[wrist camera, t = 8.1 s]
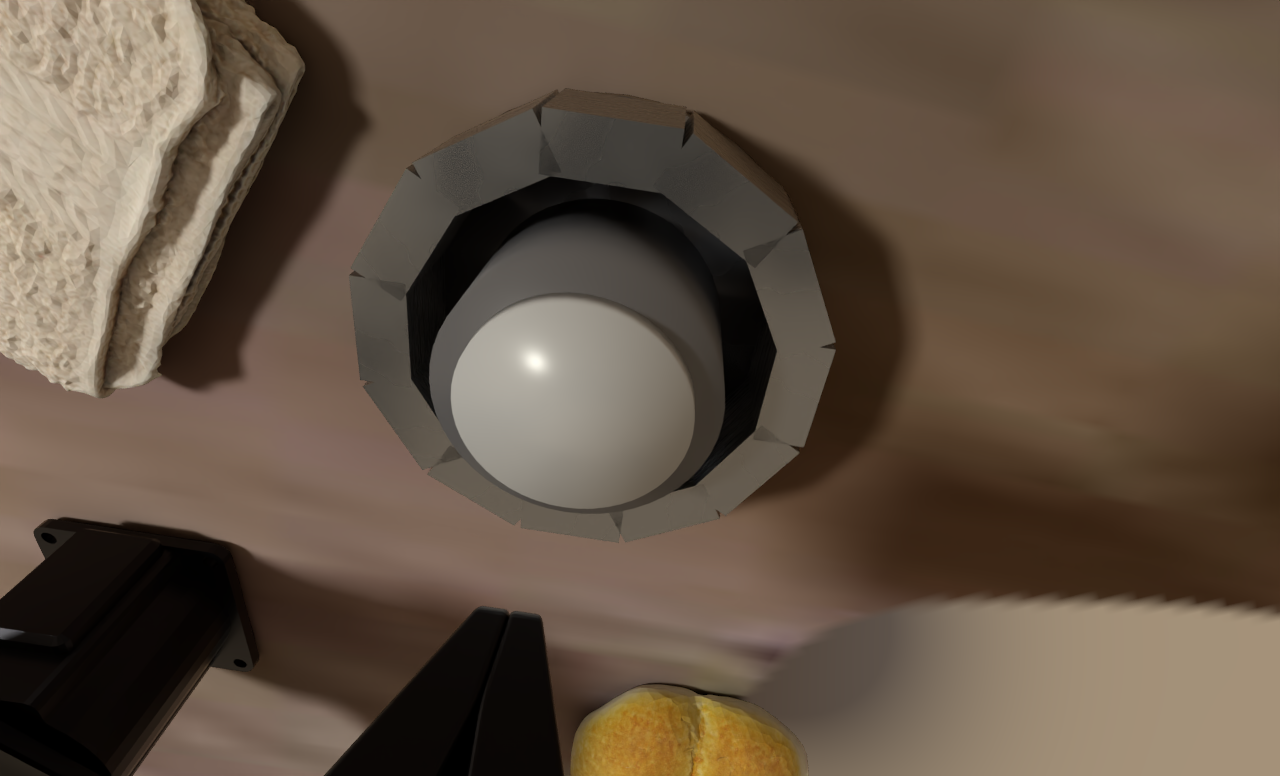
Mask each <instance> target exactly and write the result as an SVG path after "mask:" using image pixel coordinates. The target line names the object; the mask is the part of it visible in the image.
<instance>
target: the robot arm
mask: <svg viewBox="0 0 1280 776" xmlns="http://www.w3.org/2000/svg"><path fill="white" fill-rule="evenodd" d="M34 536H35V539H36V541H37V543H38V545H39V547H40V549H41V551H42V553H43V555H44V557H45V560H44V561H43V562H42V563H41V564H40V565H39V566H37V567H36V568H35V569H34V570H33V571H32V572H31V573H30V574H28V575H27V576H26V577H25V578H24V579H23V580H22V581H20V582H19V583H18V584H17V585H16V586H15V587H14V588H13V589H11V590H10V591H9V592H8V593H7V594H6V595H5V596H3V597H2V598H1V599H0V776H133V775H134V773H135V772H136V770H137V769H138V768H139V766H140V765H141V763H142V762H143V761H144V759H145V758H146V756H147V755H148V753H149V752H150V751H151V749H152V748H153V746H154V745H155V744H156V742H157V741H158V739H159V738H160V737H161V735H162V734H163V732H164V731H165V730H166V728H167V727H168V725H169V724H170V723H171V721H172V720H173V718H174V717H175V716H176V714H177V713H178V711H179V710H180V709H181V707H182V706H183V704H184V703H185V702H186V700H187V699H188V697H189V696H190V695H191V693H192V692H193V690H194V689H195V688H196V686H197V685H198V683H199V682H200V681H201V679H202V678H203V676H204V675H205V674H206V672H207V671H208V669H209V668H210V667H216V668H223V669H230V670H236V671H244V672H248V671H251V670H252V669H253V668H254V666H255V665H256V663H257V661H258V660H259V654H258V651H257V647H256V643H255V640H254V636H253V632H252V629H251V625H250V621H249V617H248V614H247V610H246V606H245V603H244V599H243V595H242V592H241V588H240V584H239V581H238V577H237V573H236V570H235V566H234V562H233V559H232V555H231V554H230V552H229V551H228V550H227V549H226V548H225V547H223V546H221V545H218V544H215V543H208V542H202V541H195V540H189V539H182V538H175V537H169V536H162V535H155V534H149V533H142V532H135V531H129V530H122V529H115V528H109V527H102V526H95V525H89V524H82V523H76V522H69V521H62V520H56V519H48V520H46V521H44V522H43V523H42V524H40V525H39V526H38V527H37V528H36V529H35V530H34ZM324 776H564V771H563V764H562V756H561V749H560V742H559V735H558V728H557V721H556V714H555V707H554V700H553V692H552V685H551V678H550V671H549V664H548V657H547V650H546V643H545V635H544V628H543V622H542V618H541V616H540V615H538V614H532V613H526V612H519V611H514V612H512V613H511V614H509V612H508V611H507V610H505V609H499V608H493V607H486V606H481V607H478V608H477V609H475V610H474V611H473V612H472V613H471V614H470V616H469V617H468V618H467V619H466V620H465V621H464V622H463V623H462V624H461V625H460V627H459V628H458V629H457V630H456V631H455V632H454V633H453V634H452V635H451V636H450V638H449V639H448V640H447V641H446V642H445V643H444V644H443V645H442V646H441V647H440V649H439V650H438V651H437V652H436V653H435V654H434V655H433V656H432V657H431V658H430V660H429V661H428V662H427V663H426V664H425V665H424V666H423V667H422V668H421V669H420V671H419V672H418V673H417V674H416V675H415V676H414V677H413V678H412V679H411V680H410V682H409V683H408V684H407V685H406V686H405V687H404V688H403V689H402V690H401V691H400V693H399V694H398V695H397V696H396V697H395V698H394V699H393V700H392V701H391V702H390V704H389V705H388V706H387V707H386V708H385V709H384V710H383V711H382V712H381V713H380V715H379V716H378V717H377V718H376V719H375V720H374V721H373V722H372V723H371V724H370V726H369V727H368V728H367V729H366V730H365V731H364V732H363V733H362V734H361V735H360V737H359V738H358V739H357V740H356V741H355V742H354V743H353V744H352V745H351V746H350V748H349V749H348V750H347V751H346V752H345V753H344V754H343V755H342V756H341V757H340V759H339V760H338V761H337V762H336V763H335V764H334V765H333V766H332V767H331V768H330V770H329V771H328V772H327V773H326V774H325V775H324Z"/></svg>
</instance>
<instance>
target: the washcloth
mask: <svg viewBox="0 0 1280 776" xmlns="http://www.w3.org/2000/svg"><path fill="white" fill-rule="evenodd" d="M304 72H305V63H304V62H303V60H302V58H301V57H300V55H299V53H298V51H297V50H296V48H295V47H294V46H292V45H290V44H288V43H287V42H286V41H285V39H284V38H283V37H282V36H281V34H280V33H279V32H278V30H277V29H276V28H275V27H272V26H269V25H268V24H267V23H266V22H263V21H261V20H260V19H259V18H258V17H257V16H256V15H255V9H254V8H253V7H252V6H250V5H247V3H246V2H245V0H0V352H1V353H3V354H4V355H5V356H6V357H7V358H10V359H13V360H15V362H16V363H18V364H21V365H23V366H24V367H25V368H26V369H29V370H38V371H39V372H40V373H41V374H43V375H44V376H46V377H47V378H48V379H49V381H50V383H60V384H61V385H63V387H64V388H65V390H67V391H71V390H73V391H78V392H82V393H86V394H88V395H91V396H94V397H96V398H106V397H108V396H110V395H111V394H112V393H113V392H114V391H115V389H124V388H131V387H136V386H141V385H144V384H147V383H149V382H150V381H152V380H153V379H155V378H157V377H159V376H162V374H160V373H159V372H158V370H157V368H158V367H159V366H160V365H161V363H160V361H161V357H162V347H163V346H164V345H165V344H166V343H167V341H168V340H169V339H170V338H171V337H172V336H174V335H175V334H177V333H178V332H180V331H181V330H182V329H183V328H184V327H185V326H186V325H187V323H188V321H189V319H190V318H191V316H192V314H193V313H194V312H195V311H196V307H197V305H198V303H199V301H200V299H201V296H202V295H203V293H204V291H205V289H206V287H207V285H208V283H209V282H210V280H211V279H212V276H213V273H214V271H215V269H216V266H217V262H218V260H219V258H220V256H221V252H222V248H223V246H224V243H225V237H226V235H227V233H228V231H229V227H230V224H231V222H232V221H233V219H234V217H235V215H236V213H237V211H238V210H239V208H240V206H241V204H242V203H243V201H244V199H245V197H246V195H247V194H248V193H249V189H250V187H251V185H252V183H253V182H254V181H255V179H256V178H257V175H258V173H259V171H260V169H261V168H262V165H263V162H264V157H265V156H266V154H267V152H268V151H269V149H270V147H271V145H272V142H273V141H274V139H275V137H276V135H277V132H278V128H279V126H280V124H281V123H282V121H283V119H284V117H285V114H286V112H287V110H288V108H289V106H290V103H291V101H292V99H293V97H294V95H295V94H296V92H297V87H298V84H299V82H300V80H301V78H302V76H303V74H304Z"/></svg>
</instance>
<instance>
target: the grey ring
mask: <svg viewBox="0 0 1280 776" xmlns="http://www.w3.org/2000/svg"><path fill="white" fill-rule="evenodd" d="M595 198H597V199H609V200H616V201H621V202H625V203H630V204H633V205H636V206H638V207H641V208H644V209H646V210H648V211H650V212H652V213H654V214H656V215H658V216H660V217H662V218H663V219H665V220H666V221H668V222H669V223H671V224H672V225H674V226H675V227H676V228H677V229H678V230H679V231H681V232H682V233H683V234H684V235H685V236H686V237H687V238H688V239H689V240H690V241H691V242H692V244H693V245H694V246H695V247H696V248H697V249H698V251H699V252H700V254H701V256H702V257H703V259H704V260H705V262H706V263H707V266H708V268H709V270H710V272H711V274H712V276H713V279H714V282H715V286H716V289H717V293H718V300H719V307H720V322H721V338H722V353H723V369H724V384H725V411H724V418H723V424H722V427H721V430H720V433H719V436H718V440H717V442H716V444H715V446H714V447H713V449H712V451H711V453H710V455H709V456H708V458H707V459H706V461H705V462H704V463H703V465H702V466H701V467H700V468H699V470H698V471H697V472H696V473H695V474H694V475H693V476H692V477H691V478H690V479H689V480H687V481H686V482H685V483H684V484H683V485H681V486H680V487H679V488H677V489H676V490H674V491H673V492H671V493H669V494H668V495H666V496H664V497H662V498H660V499H658V500H656V501H654V502H651V503H649V504H646V505H643V506H640V507H637V508H634V509H629V510H625V511H620V512H613V513H603V514H580V513H570V512H563V511H558V510H553V509H548V508H545V507H542V506H538V505H535V504H532V503H529V502H527V501H524V500H522V499H520V498H517V497H515V496H513V495H511V494H509V493H507V492H506V491H504V490H502V489H500V488H498V487H497V486H496V485H494V484H493V483H491V482H490V481H488V480H487V479H485V478H484V477H483V476H482V475H480V474H479V473H478V472H477V471H476V470H474V469H473V468H472V467H471V466H470V465H469V464H468V463H467V462H466V461H465V460H464V459H463V458H462V456H461V455H460V454H459V453H458V451H457V450H456V449H455V448H454V446H453V445H452V444H451V442H450V441H449V439H448V437H447V435H446V434H445V432H444V430H443V429H442V427H441V424H440V422H439V420H438V417H437V415H436V413H435V409H434V405H433V402H432V398H431V391H430V383H429V368H430V359H431V354H432V349H433V346H434V343H435V340H436V337H437V335H438V332H439V330H440V328H441V326H442V325H443V323H444V321H445V319H446V318H447V316H448V315H449V313H450V312H451V311H452V309H453V308H454V307H455V305H456V304H457V303H458V301H459V300H460V299H461V297H462V296H463V295H464V293H465V292H466V291H467V289H468V288H469V287H470V285H471V284H472V283H473V281H474V280H475V278H476V277H477V276H478V274H479V273H480V272H481V270H482V269H483V268H484V266H485V265H486V264H487V262H488V261H489V260H490V258H491V257H492V256H493V254H494V253H495V252H496V250H497V249H498V248H499V246H500V245H501V244H502V242H503V241H504V240H505V239H506V237H507V236H508V235H509V234H510V233H511V232H512V231H513V230H514V229H515V228H516V227H517V226H518V225H519V224H520V223H522V222H523V221H525V220H526V219H527V218H529V217H530V216H532V215H533V214H535V213H537V212H539V211H541V210H543V209H545V208H547V207H550V206H553V205H556V204H559V203H562V202H567V201H573V200H578V199H595ZM351 269H353V270H354V272H352V273H351V274H350V275H349V280H350V289H351V299H352V308H353V317H354V327H355V336H356V345H357V355H358V364H359V373H360V380H365V381H367V382H366V383H365V385H364V386H363V387H364V389H365V390H366V391H367V393H368V394H369V396H370V397H371V398H372V400H373V401H374V403H375V404H376V405H377V407H378V408H379V410H380V411H381V413H382V414H383V415H384V417H385V418H386V420H387V421H388V422H389V424H390V425H391V427H392V428H393V429H394V431H395V432H396V434H397V435H398V436H399V438H400V439H401V441H402V442H403V443H404V445H405V446H406V448H407V449H408V450H409V452H410V453H411V455H412V456H413V458H414V459H415V460H416V462H417V463H418V465H419V466H420V467H421V469H422V470H424V469H427V468H430V467H431V469H430V471H429V472H428V474H427V475H429V476H431V477H433V478H434V479H436V480H438V481H439V482H441V483H443V484H444V485H446V486H448V487H450V488H451V489H453V490H455V491H456V492H458V493H460V494H461V495H463V496H465V497H467V498H468V499H470V500H472V501H473V502H475V503H477V504H478V505H480V506H482V507H484V508H485V509H487V510H489V511H490V512H492V513H494V514H495V515H497V516H499V517H500V518H502V519H504V520H506V521H507V522H509V523H511V524H512V525H515V524H516V523H517V522H518V521H519V520H520V519H521V528H524V529H531V530H537V531H544V532H551V533H557V534H564V535H570V536H577V537H584V538H590V539H597V540H603V541H610V542H617V543H619V537H620V534H621V535H622V537H623V539H624V541H625V542H629V541H633V540H637V539H641V538H645V537H649V536H653V535H657V534H661V533H665V532H669V531H673V530H677V529H681V528H685V527H689V526H693V525H697V524H701V523H705V522H709V521H713V520H717V519H720V512H721V513H722V514H724V515H725V516H726V515H727V514H728V513H730V512H731V511H732V510H733V509H734V508H735V507H737V506H738V505H739V504H740V503H741V502H742V501H744V500H745V499H746V498H747V497H748V496H750V495H751V494H752V493H753V492H754V491H755V490H757V489H758V488H759V487H760V486H761V485H763V484H764V483H765V482H766V481H767V480H768V479H770V478H771V477H772V476H773V475H774V474H775V473H777V472H778V471H779V470H780V469H781V468H783V467H784V466H785V465H786V464H787V463H788V462H790V461H791V460H792V459H793V458H794V457H796V456H797V455H798V454H799V453H800V452H799V447H804V445H805V442H806V439H807V436H808V433H809V430H810V427H811V424H812V421H813V418H814V415H815V412H816V409H817V406H818V403H819V400H820V397H821V394H822V390H823V387H824V384H825V381H826V378H827V375H828V372H829V369H830V366H831V363H832V360H833V357H834V354H835V351H836V349H835V346H834V344H833V343H835V342H836V341H835V338H834V334H833V331H832V327H831V324H830V321H829V317H828V314H827V310H826V307H825V304H824V300H823V297H822V293H821V290H820V287H819V283H818V280H817V276H816V273H815V270H814V266H813V263H812V259H811V256H810V253H809V249H808V246H807V242H806V239H805V236H804V232H803V229H802V227H801V224H800V222H799V220H798V217H797V215H796V212H795V210H794V208H793V205H792V203H791V201H790V198H789V196H788V194H787V195H786V192H785V190H784V188H783V187H782V186H781V185H780V184H779V183H777V182H776V181H775V180H774V179H773V178H772V177H771V176H769V175H768V174H767V173H766V172H765V171H764V170H762V169H761V168H760V166H759V165H758V164H757V163H756V162H755V161H753V160H752V159H751V158H750V157H749V156H748V155H747V154H746V153H745V152H744V151H743V150H742V149H741V148H740V147H739V146H738V145H737V144H736V143H734V142H733V141H732V140H730V139H729V138H727V137H726V136H725V135H723V134H722V133H721V132H719V131H718V130H717V129H715V128H714V127H713V126H711V125H710V124H709V123H708V122H707V121H706V120H704V119H703V118H702V117H701V116H700V115H699V114H697V113H696V112H695V111H694V112H693V113H692V114H691V115H690V114H689V113H686V107H684V106H677V105H671V104H664V103H660V102H657V101H653V100H648V99H644V98H639V97H635V96H631V95H624V94H612V93H600V92H587V91H580V90H574V89H568V88H565V89H564V90H563V91H561V92H560V93H559V92H558V90H555V91H553V92H551V93H548V94H546V95H544V96H542V97H540V98H537V99H535V100H533V101H531V102H529V103H527V104H524V105H522V106H519V107H517V108H514V109H511V110H509V111H507V112H505V113H503V114H501V115H500V116H498V117H496V118H494V119H491V120H489V121H487V122H485V123H483V124H480V125H478V126H476V127H474V128H472V129H470V130H467V131H465V132H463V133H461V134H459V135H456V136H454V137H452V138H451V139H449V140H448V141H446V142H444V143H443V144H441V145H440V146H438V147H437V148H435V149H433V150H432V151H430V152H429V153H427V154H425V155H424V156H422V157H421V158H419V159H418V160H416V161H414V162H413V164H412V165H411V166H409V167H408V168H406V170H405V172H404V173H403V175H402V177H401V179H400V180H399V182H398V184H397V186H396V188H395V189H394V191H393V193H392V195H391V197H390V198H389V200H388V202H387V204H386V206H385V207H384V209H383V211H382V213H381V214H380V216H379V218H378V220H377V222H376V223H375V225H374V227H373V229H372V231H371V232H370V234H369V236H368V238H367V240H366V241H365V243H364V245H363V247H362V248H361V250H360V252H359V254H358V256H357V257H356V259H355V261H354V263H353V265H352V266H351Z"/></svg>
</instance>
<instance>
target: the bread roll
mask: <svg viewBox="0 0 1280 776" xmlns="http://www.w3.org/2000/svg"><path fill="white" fill-rule="evenodd" d="M808 774H809V771H808V761H807V754H806V752H805V749H804V747H803V745H802V744H801V742H800V741H799V740H798V738H797V737H796V736H795V735H794V734H793V733H792V732H791V731H790V730H789V729H788V728H787V727H786V726H785V725H784V724H782V723H781V722H780V721H779V720H777V719H776V718H775V717H774V716H772V715H771V714H769V713H768V712H767V711H765V710H764V709H763V708H761V707H759V706H757V705H755V704H752V703H749V702H746V701H743V700H739V699H735V698H731V697H725V696H716V695H699V694H697V693H695V692H693V691H691V690H689V689H686V688H683V687H677V686H670V685H662V684H650V685H641V686H638V687H635V688H633V689H631V690H629V691H626V692H624V693H623V694H621V695H619V696H617V697H615V698H614V699H612V700H611V701H609V702H608V703H606V704H605V705H603V706H602V707H600V708H599V709H597V710H595V711H593V712H591V713H590V714H589V715H587V716H586V717H585V718H584V719H583V721H582V722H581V724H580V725H579V727H578V729H577V731H576V733H575V737H574V740H573V746H572V750H571V766H570V775H571V776H808Z"/></svg>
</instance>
